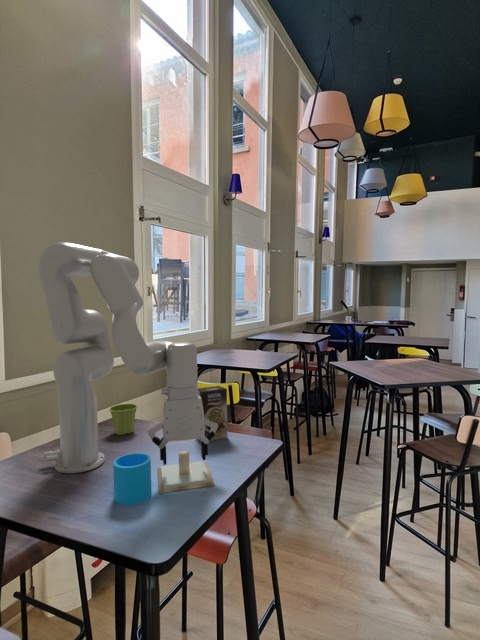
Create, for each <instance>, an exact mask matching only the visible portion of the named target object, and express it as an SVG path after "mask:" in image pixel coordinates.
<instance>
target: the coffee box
mask: <svg viewBox="0 0 480 640" xmlns="http://www.w3.org/2000/svg"><path fill="white" fill-rule="evenodd" d="M227 392H228V389H227V388H226V387H224V386H220V385H217V386H208V387H207V386H206V387H205V386H204V387H198V395H199V396H200V397H201V399H202V404H203V411H204V418H205V419H208V420H210V421H213V422H215V423H217V424H218V428H217V430H216V432H215V435H214V437H213V438H212V439H211V440H210V441H209V442H213V441H218V440H223V439H228V393H227ZM210 430H211V427H209V426H207V425H205V435H206V434H207V433H208V432H209V431H210ZM197 440H198V441H199V442H200V443H201V441H202V440H201V439H197Z"/></svg>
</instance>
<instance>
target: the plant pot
mask: <svg viewBox="0 0 480 640" xmlns="http://www.w3.org/2000/svg"><path fill="white" fill-rule="evenodd" d="M137 409H138V404H136V403H122V404H116V405H112V406H110V407H109V408H108V410H109V412H110V415H111V418H112V425H113V429H114V434H116V435H121V436H123V435H126V434H131V433H133V432H134V429H135V419H136V412H137Z"/></svg>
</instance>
